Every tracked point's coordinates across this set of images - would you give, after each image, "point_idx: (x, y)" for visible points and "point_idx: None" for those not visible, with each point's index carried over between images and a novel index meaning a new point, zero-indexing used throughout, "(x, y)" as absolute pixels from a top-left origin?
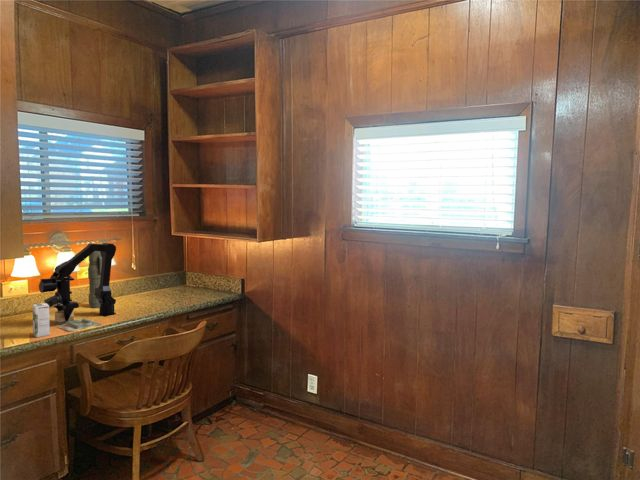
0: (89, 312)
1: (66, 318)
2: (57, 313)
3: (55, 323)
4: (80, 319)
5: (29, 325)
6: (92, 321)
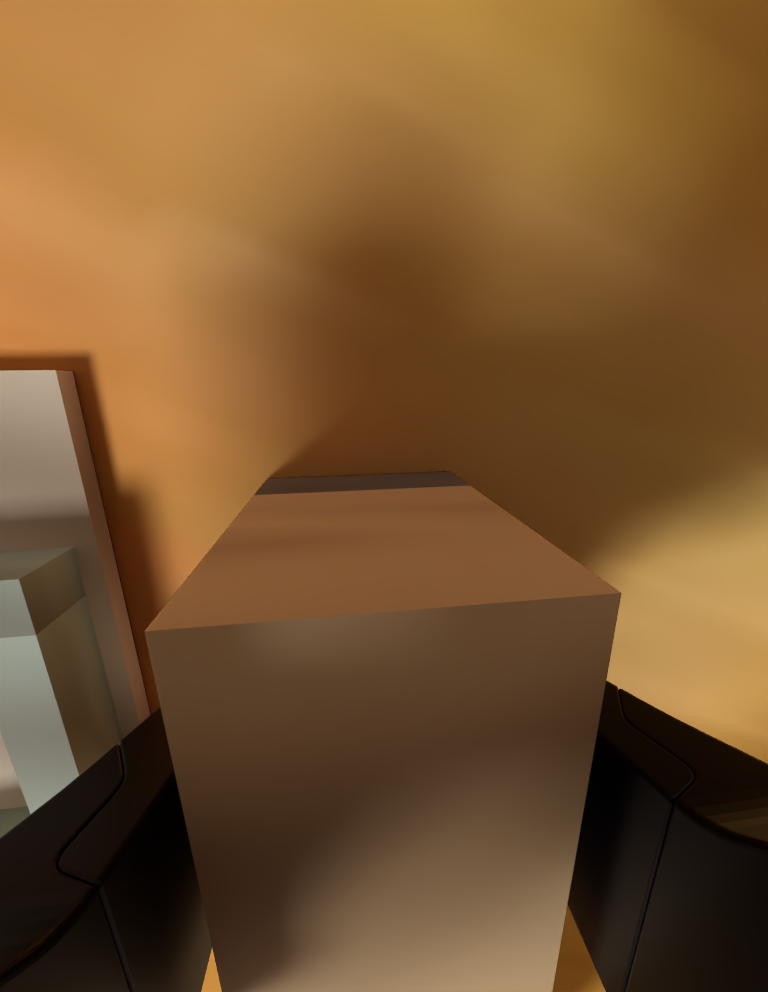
0: None
1: None
2: (332, 599)
3: (436, 472)
4: None
5: (750, 13)
6: None
